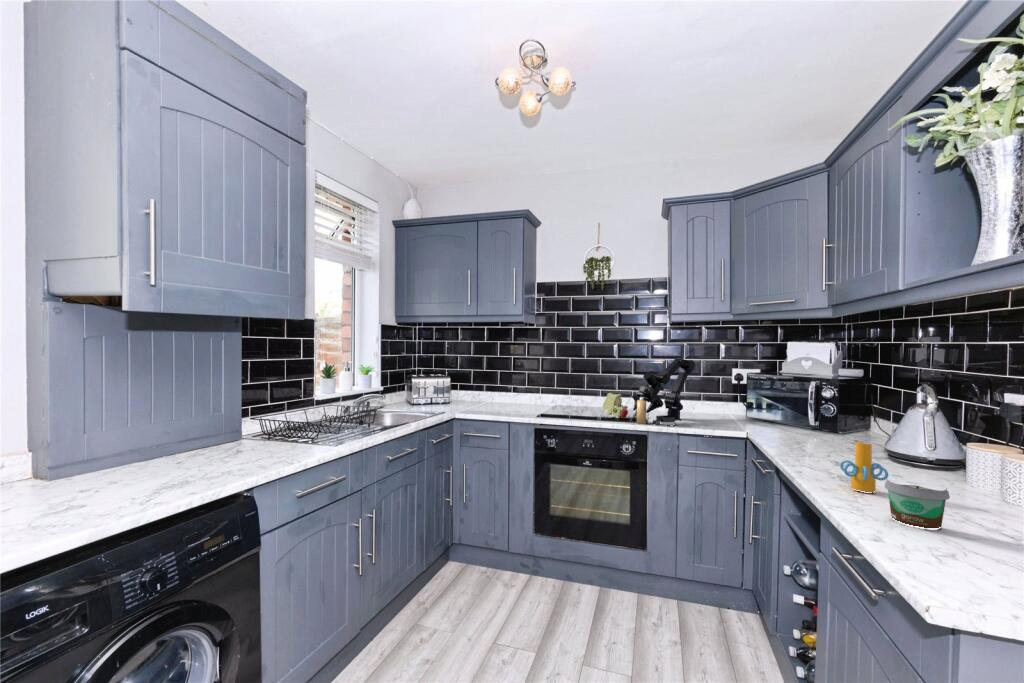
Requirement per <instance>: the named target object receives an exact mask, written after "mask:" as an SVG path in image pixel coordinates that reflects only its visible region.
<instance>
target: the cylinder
mask: <svg viewBox="0 0 1024 683" xmlns="http://www.w3.org/2000/svg"><path fill="white" fill-rule="evenodd" d="M854 444H855V446H854V447H855V448H854V462H853V461H851V460H849V459H844V460H842V461H841V462H840V463H839V468H840V470H841V471H842V472H844V474H845V475H846V476H847V477H850V489H851V488H853V489H856V490H860V491H865V492H874V491H875V490H876V485H877V482H876V480H878V481H887V479H888V478H889V472H888V469H886V468H885V467H883V466H882V465H881V464H880V463H876V462H875V463H873V462H872V461H873V454H872V453H873V444H872V442H867V441H859V440H857V441H855V443H854ZM845 463H847V464H845ZM844 464H845V465H844ZM849 467H852V469H851V470H850V471H849V470H848V468H849ZM877 469H878V470H879V471H878V473H876V474H875V470H877ZM883 473H884V476H883V477H880V476H881V475H882V474H883ZM875 492H876V491H875Z"/></svg>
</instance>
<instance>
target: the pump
mask: <svg viewBox="0 0 1024 683" xmlns="http://www.w3.org/2000/svg"><path fill="white" fill-rule="evenodd" d="M646 410H647V401H646V400H644V398H640V400H637V409H636V424H638V425H646V424H647V413H646Z"/></svg>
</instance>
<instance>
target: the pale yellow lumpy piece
mask: <svg viewBox="0 0 1024 683" xmlns="http://www.w3.org/2000/svg"><path fill="white" fill-rule="evenodd" d="M622 400H623V399H622V394H619V393H618V394H616V393H615V394H614V393H613V392H609V393H607V395H606V396H605V399H604V401H603V404H602V405H601V407H602V411H601V414H600V416H602V415H603V413H604V411H605V413H606V414H607V415H608V416H609V415H610V416H611V415H612V416H615V419H616V418H619V419H620V418H621V419H622V418H624V419H625V418H626V417H627V416H628V414H629V410H628V408H629V406H628V405H622V403H623V401H622Z"/></svg>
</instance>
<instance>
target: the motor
mask: <svg viewBox="0 0 1024 683" xmlns="http://www.w3.org/2000/svg"><path fill="white" fill-rule="evenodd" d="M655 418H656V419H653V420H652V425H653V424H655V425H654V426H660V425H673V424H675V425H676V420H675V417H671V416H668V415H667V414H666V415H665V414H663V415H661V414H660V415H656V417H655Z"/></svg>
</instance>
